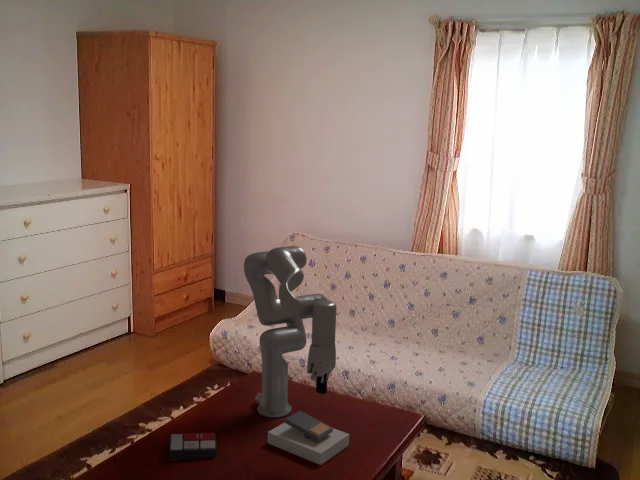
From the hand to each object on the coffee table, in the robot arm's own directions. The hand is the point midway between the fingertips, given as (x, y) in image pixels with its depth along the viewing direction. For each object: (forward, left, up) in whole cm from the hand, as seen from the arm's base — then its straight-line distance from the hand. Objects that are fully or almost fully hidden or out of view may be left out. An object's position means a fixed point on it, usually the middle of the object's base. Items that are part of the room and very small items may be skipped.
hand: (321, 392), depth 206 cm
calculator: (-32, -27, -20) cm, 46 cm away
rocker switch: (-5, 0, -13) cm, 14 cm away
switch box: (-5, 0, -20) cm, 20 cm away
